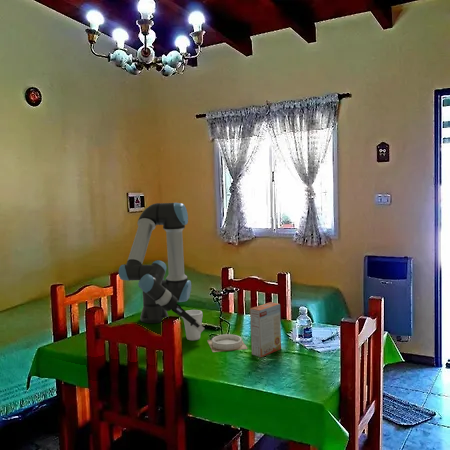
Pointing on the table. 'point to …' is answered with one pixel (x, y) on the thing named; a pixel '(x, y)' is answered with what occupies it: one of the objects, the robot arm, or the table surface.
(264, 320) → the cracker box
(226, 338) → the bowl
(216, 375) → the table surface
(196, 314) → the foam cup
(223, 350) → the cork mat
